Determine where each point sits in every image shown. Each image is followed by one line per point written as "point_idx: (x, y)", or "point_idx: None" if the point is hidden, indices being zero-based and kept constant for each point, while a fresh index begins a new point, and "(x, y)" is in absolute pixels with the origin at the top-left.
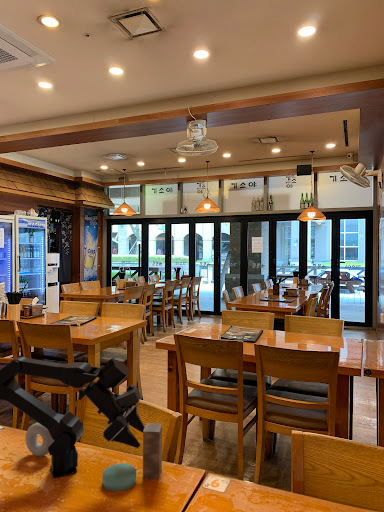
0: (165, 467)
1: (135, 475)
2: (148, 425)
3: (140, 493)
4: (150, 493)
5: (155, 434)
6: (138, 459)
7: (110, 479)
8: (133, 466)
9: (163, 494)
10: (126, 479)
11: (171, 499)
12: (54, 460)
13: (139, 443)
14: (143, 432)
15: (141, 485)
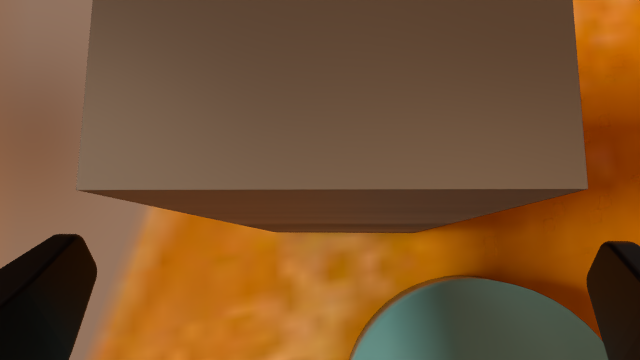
0: None
1: (488, 280)
2: (208, 113)
3: (595, 217)
4: (585, 150)
5: None
6: (154, 311)
7: None
8: (383, 320)
9: (584, 66)
10: (595, 342)
11: (630, 11)
12: None
13: (629, 254)
14: (571, 183)
15: (499, 227)
